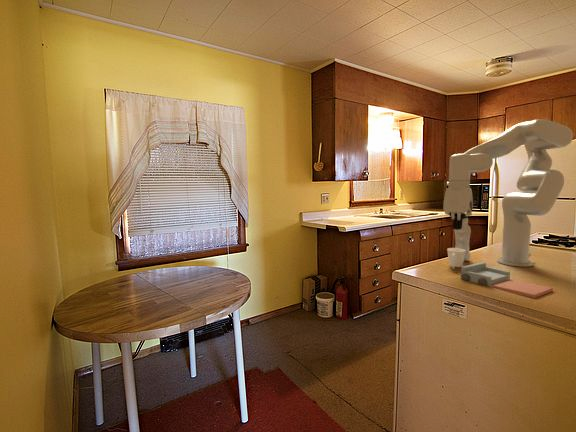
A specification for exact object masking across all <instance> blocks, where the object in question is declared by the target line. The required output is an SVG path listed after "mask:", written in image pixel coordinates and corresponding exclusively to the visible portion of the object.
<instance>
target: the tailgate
mask: <svg viewBox="0 0 576 432" xmlns="http://www.w3.org/2000/svg"><path fill="white" fill-rule="evenodd" d="M492 288H495V289H498V290H499V289H500V290H501V291H507V292H510V293H513V294H517V295H519V296H525V297H528V298H533V299H534V298H538V297H541V296H544V295H546V294H548V293H551V292H553V291H554V288H553V287H551V286H547V285H546V286H545V285H540V284H535V283H531V282H526V281H525V282H524V281H519V280H515V279H510V280H509V281H505V282H502V283H499V284H495V285H493V287H492Z"/></svg>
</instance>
